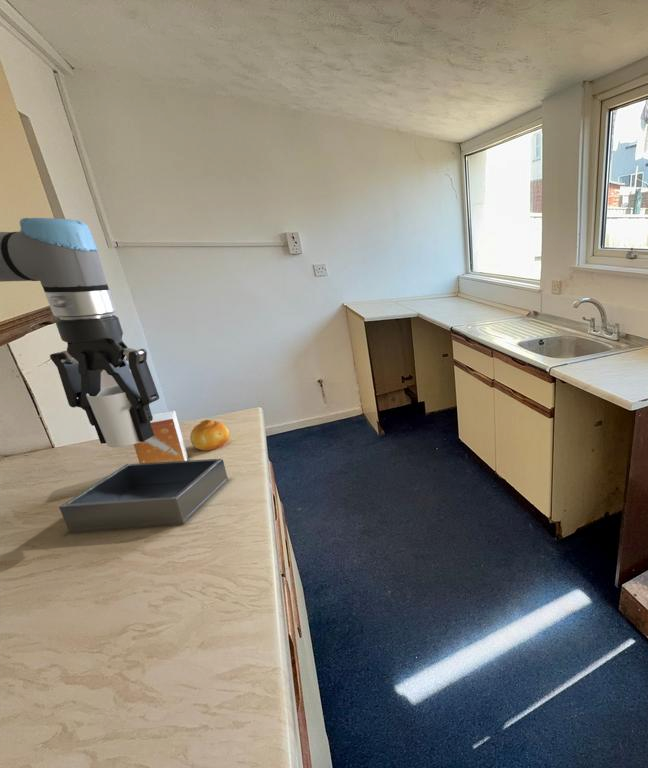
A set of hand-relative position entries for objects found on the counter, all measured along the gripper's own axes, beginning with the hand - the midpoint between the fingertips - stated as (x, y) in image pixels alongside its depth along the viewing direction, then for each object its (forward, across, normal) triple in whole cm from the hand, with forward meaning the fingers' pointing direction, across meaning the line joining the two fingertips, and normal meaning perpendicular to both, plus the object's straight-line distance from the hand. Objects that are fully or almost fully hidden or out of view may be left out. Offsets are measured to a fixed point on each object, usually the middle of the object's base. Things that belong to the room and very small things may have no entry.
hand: (128, 439), depth 75 cm
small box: (+17, -10, +20) cm, 28 cm away
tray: (+17, -1, +3) cm, 17 cm away
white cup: (0, 0, 0) cm, 0 cm away
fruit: (+17, -5, +30) cm, 35 cm away
